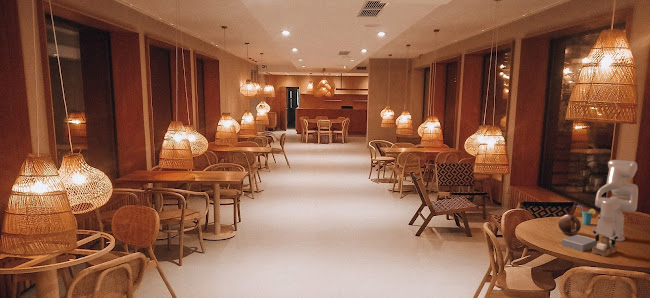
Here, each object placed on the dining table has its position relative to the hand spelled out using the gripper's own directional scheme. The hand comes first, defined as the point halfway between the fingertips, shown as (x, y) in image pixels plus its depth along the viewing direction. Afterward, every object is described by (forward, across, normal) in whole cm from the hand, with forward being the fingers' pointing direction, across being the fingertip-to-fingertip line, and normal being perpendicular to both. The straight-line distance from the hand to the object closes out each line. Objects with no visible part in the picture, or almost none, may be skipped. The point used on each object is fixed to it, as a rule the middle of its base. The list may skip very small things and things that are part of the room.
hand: (605, 243), depth 285 cm
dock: (+7, -16, 0) cm, 17 cm away
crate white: (+4, 0, -4) cm, 6 cm away
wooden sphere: (+6, -34, +20) cm, 40 cm away
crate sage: (+4, 0, +5) cm, 7 cm away
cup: (+6, -40, +57) cm, 70 cm away
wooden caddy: (+7, 0, 0) cm, 7 cm away
